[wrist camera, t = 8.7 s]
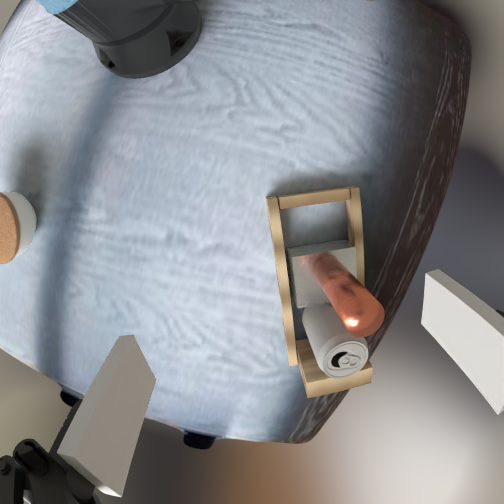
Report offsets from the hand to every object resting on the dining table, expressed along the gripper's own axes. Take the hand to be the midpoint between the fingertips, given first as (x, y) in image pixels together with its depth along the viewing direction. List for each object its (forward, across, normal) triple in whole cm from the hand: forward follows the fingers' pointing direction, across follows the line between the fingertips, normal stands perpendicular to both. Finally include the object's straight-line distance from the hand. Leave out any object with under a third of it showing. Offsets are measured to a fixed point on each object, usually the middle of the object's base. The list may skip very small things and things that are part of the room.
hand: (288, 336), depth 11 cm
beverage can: (+26, +6, -16) cm, 32 cm away
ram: (+26, +7, -9) cm, 29 cm away
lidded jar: (+27, -37, +9) cm, 47 cm away
